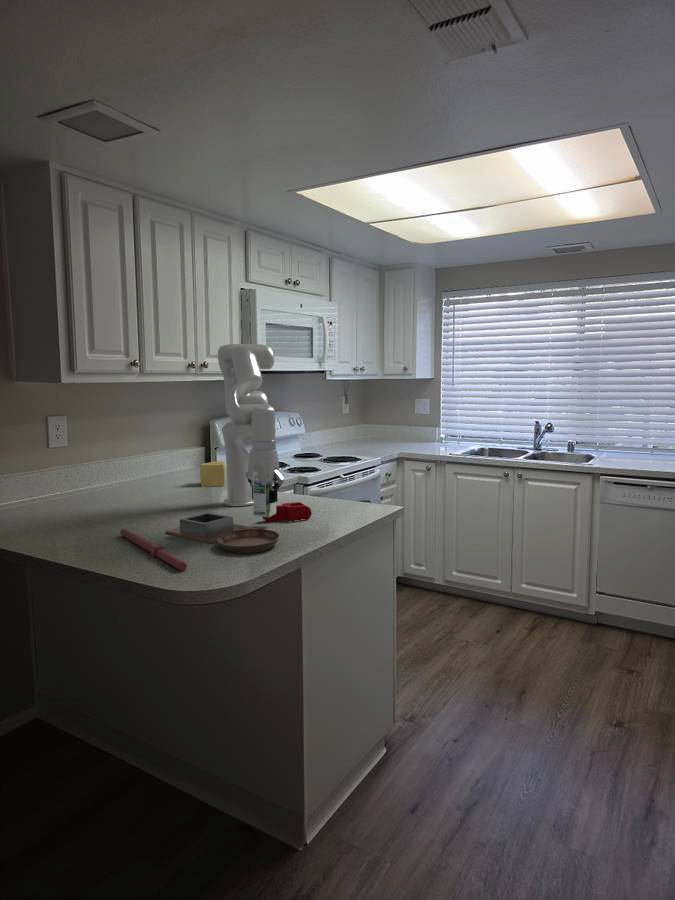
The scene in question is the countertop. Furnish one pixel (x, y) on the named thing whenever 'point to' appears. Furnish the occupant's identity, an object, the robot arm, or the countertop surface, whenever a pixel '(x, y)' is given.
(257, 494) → the syrup box
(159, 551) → the rolling pin
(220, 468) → the cheese
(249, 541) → the plant saucer
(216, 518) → the collar
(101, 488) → the countertop surface
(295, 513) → the mechanical linkage
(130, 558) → the countertop surface
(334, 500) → the countertop surface
